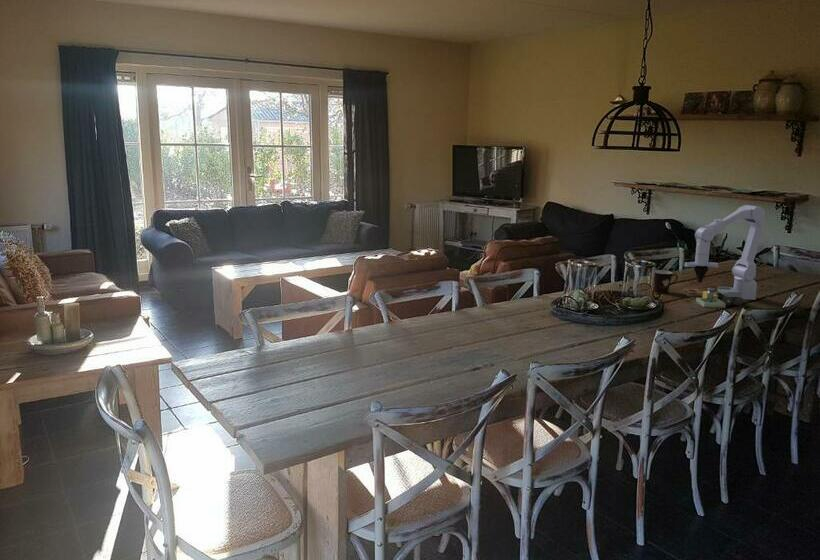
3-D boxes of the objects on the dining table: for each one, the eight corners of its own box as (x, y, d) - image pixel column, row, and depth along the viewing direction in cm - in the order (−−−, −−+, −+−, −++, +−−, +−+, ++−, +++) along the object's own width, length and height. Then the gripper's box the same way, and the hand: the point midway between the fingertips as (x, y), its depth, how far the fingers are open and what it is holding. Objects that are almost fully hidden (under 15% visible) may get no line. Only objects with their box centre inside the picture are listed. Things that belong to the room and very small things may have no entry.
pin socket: (697, 293, 322) (697, 289, 322) (702, 296, 315) (703, 292, 315) (682, 292, 322) (683, 288, 322) (687, 296, 316) (688, 292, 315)
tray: (716, 302, 305) (717, 298, 304) (725, 307, 295) (725, 303, 295) (695, 301, 305) (696, 297, 305) (703, 307, 296) (704, 302, 295)
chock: (712, 299, 311) (713, 291, 310) (717, 302, 306) (718, 293, 305) (702, 299, 311) (703, 291, 310) (706, 301, 306) (707, 293, 305)
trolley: (731, 299, 310) (733, 286, 309) (743, 306, 299) (745, 292, 297) (712, 299, 311) (714, 286, 309) (723, 305, 299) (725, 292, 298)
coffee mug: (652, 293, 321) (654, 273, 319) (651, 289, 329) (653, 269, 327) (677, 295, 318) (679, 274, 316) (676, 291, 326) (678, 271, 324)
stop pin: (711, 302, 302) (713, 287, 300) (714, 304, 299) (715, 289, 297) (704, 302, 302) (706, 287, 301) (707, 304, 299) (709, 289, 298)
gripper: (714, 252, 308) (711, 280, 311) (683, 251, 309) (680, 280, 312) (721, 254, 301) (717, 283, 304) (688, 254, 302) (686, 283, 305)
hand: (699, 282), depth 308 cm, fingers closed
